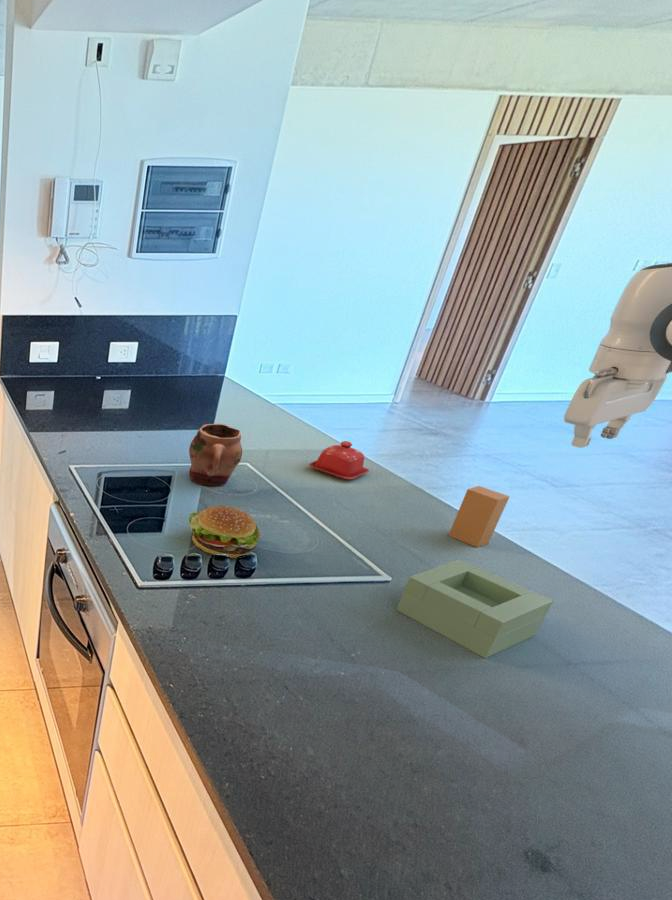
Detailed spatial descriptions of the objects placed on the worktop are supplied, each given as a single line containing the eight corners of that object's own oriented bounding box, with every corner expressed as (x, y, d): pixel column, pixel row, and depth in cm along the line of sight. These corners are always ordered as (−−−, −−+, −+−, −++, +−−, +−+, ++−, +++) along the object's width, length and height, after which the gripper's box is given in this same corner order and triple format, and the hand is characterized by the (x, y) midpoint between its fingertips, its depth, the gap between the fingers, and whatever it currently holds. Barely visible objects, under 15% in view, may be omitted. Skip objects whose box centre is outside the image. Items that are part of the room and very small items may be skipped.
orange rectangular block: (459, 531, 133) (479, 485, 128) (488, 543, 129) (509, 496, 124) (448, 535, 132) (467, 489, 127) (477, 547, 127) (498, 499, 122)
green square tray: (535, 635, 102) (553, 600, 98) (484, 658, 96) (502, 622, 93) (445, 591, 113) (459, 558, 110) (396, 610, 108) (409, 576, 105)
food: (194, 522, 137) (200, 490, 133) (261, 540, 130) (270, 507, 126) (174, 548, 127) (181, 514, 123) (246, 569, 120) (256, 533, 116)
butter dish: (371, 474, 161) (381, 443, 157) (349, 484, 155) (359, 453, 152) (326, 460, 170) (335, 431, 166) (304, 469, 164) (312, 439, 160)
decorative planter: (240, 501, 147) (253, 446, 140) (186, 495, 149) (197, 442, 143) (229, 469, 164) (240, 419, 158) (181, 465, 167) (190, 415, 160)
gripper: (620, 375, 97) (583, 457, 103) (684, 360, 104) (646, 438, 110) (570, 368, 102) (538, 446, 108) (634, 354, 110) (601, 428, 116)
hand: (593, 441), depth 109 cm, fingers open, 8 cm apart
